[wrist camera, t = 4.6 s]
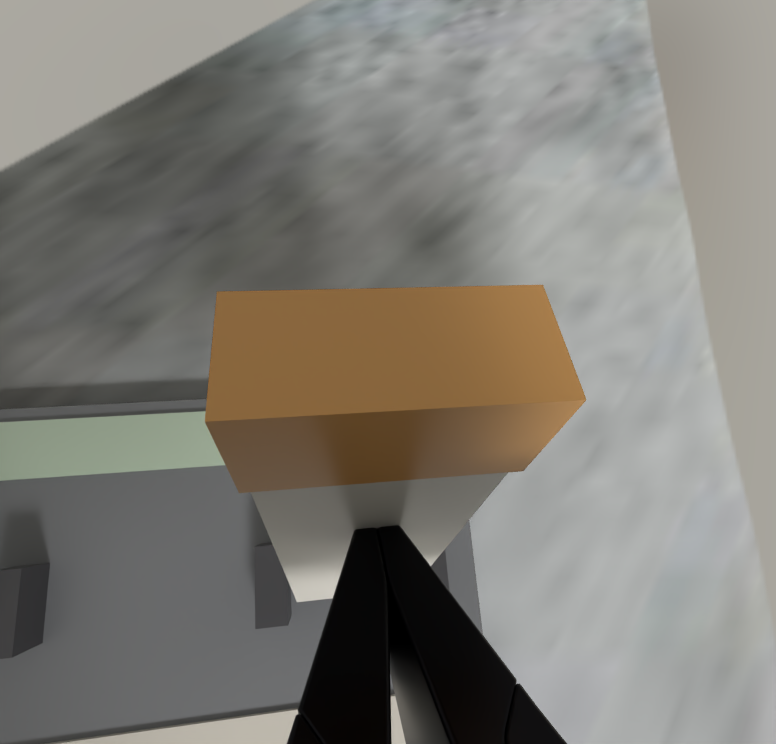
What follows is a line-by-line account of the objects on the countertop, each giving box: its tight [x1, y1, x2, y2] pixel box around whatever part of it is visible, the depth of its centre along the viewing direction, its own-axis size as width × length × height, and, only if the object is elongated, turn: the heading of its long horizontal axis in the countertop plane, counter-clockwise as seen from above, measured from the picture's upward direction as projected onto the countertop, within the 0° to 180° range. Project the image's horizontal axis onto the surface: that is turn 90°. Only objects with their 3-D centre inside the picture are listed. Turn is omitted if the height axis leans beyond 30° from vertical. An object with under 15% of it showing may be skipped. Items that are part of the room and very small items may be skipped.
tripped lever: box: [205, 285, 586, 602], centre depth 11 cm, size 2×4×14 cm, turn 94°
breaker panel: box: [0, 399, 483, 744], centre depth 16 cm, size 13×22×2 cm, turn 94°
